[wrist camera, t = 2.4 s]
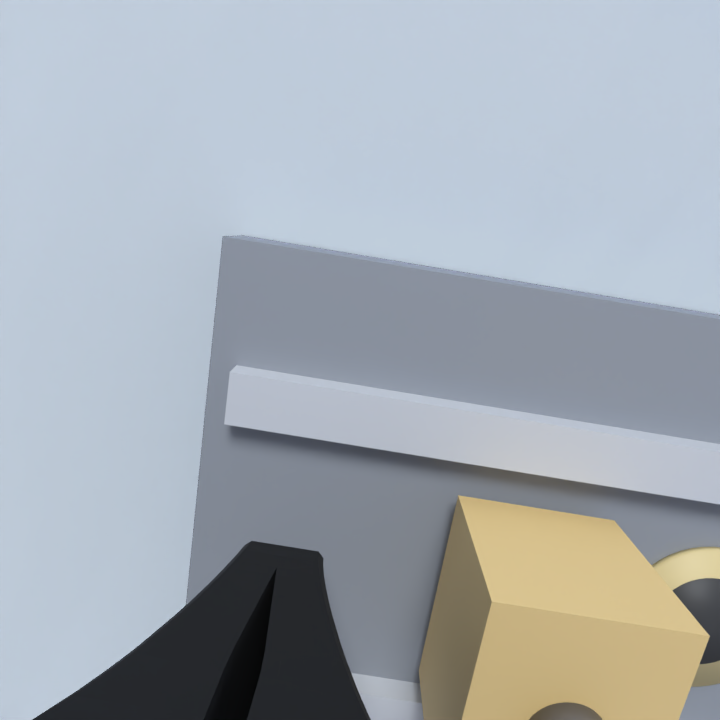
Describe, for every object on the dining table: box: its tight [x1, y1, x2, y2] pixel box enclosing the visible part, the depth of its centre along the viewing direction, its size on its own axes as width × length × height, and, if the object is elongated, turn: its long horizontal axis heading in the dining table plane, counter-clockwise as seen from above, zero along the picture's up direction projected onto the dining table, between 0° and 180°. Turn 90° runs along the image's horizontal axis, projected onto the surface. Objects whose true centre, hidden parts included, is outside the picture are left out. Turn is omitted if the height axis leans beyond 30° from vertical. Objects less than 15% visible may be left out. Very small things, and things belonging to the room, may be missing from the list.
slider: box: [419, 495, 710, 720], centre depth 9 cm, size 3×4×4 cm
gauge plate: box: [186, 235, 720, 720], centre depth 10 cm, size 19×12×6 cm, turn 81°
